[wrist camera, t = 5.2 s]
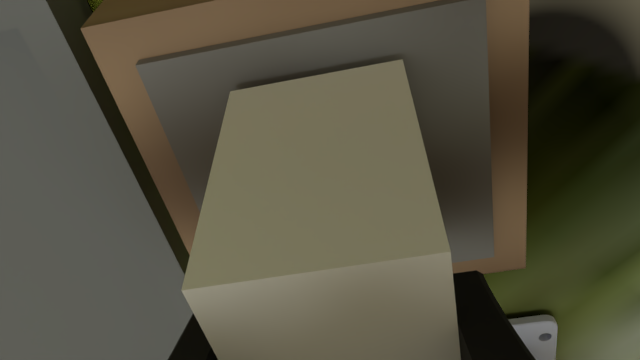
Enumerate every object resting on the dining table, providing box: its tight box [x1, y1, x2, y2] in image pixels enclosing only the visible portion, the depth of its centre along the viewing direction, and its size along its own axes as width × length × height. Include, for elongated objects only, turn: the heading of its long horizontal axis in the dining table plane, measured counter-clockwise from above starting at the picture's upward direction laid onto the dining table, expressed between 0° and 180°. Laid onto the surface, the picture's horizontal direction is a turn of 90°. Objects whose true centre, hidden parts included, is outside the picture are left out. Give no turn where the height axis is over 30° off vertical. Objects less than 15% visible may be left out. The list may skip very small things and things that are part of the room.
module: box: [181, 59, 461, 360], centre depth 13 cm, size 6×4×6 cm
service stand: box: [80, 0, 529, 274], centre depth 17 cm, size 10×10×3 cm
